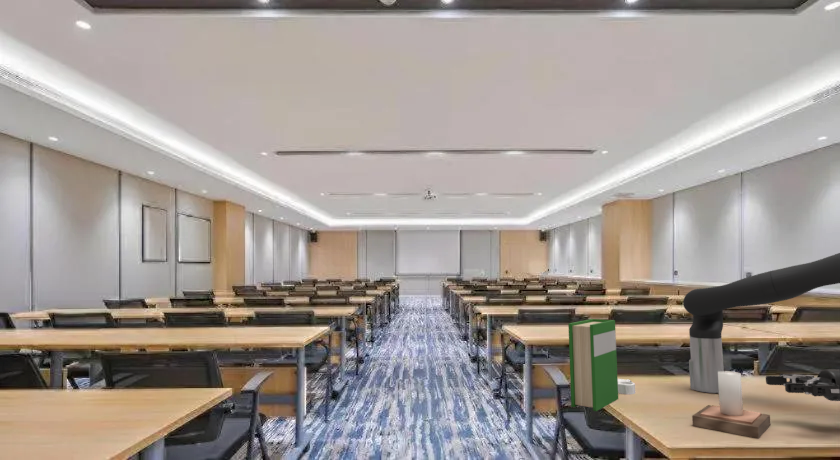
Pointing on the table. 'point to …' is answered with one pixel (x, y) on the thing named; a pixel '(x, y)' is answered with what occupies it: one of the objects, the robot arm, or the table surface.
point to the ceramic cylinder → (730, 393)
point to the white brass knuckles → (626, 386)
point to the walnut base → (732, 421)
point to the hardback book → (593, 363)
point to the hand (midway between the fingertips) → (776, 383)
